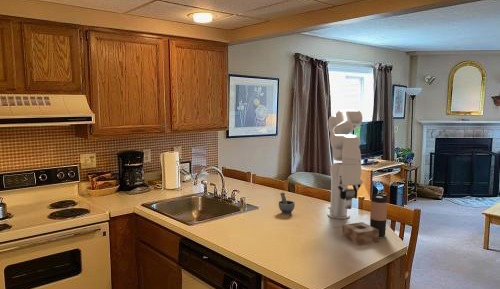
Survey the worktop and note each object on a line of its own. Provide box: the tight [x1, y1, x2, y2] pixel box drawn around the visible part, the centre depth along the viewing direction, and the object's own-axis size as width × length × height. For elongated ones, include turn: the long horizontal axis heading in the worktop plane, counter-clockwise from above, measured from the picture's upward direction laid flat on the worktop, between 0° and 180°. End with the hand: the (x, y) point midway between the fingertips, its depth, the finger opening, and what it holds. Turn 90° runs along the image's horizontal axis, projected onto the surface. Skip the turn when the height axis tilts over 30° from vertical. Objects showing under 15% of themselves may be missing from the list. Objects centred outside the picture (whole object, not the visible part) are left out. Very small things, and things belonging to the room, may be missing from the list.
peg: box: [344, 188, 355, 210], centre depth 176 cm, size 6×6×9 cm
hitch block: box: [341, 221, 380, 246], centre depth 175 cm, size 12×12×6 cm
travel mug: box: [369, 193, 388, 238], centre depth 180 cm, size 8×8×20 cm
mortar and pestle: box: [278, 192, 296, 216], centre depth 216 cm, size 11×9×12 cm
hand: (348, 198), depth 176 cm, fingers closed on peg, 6 cm apart
